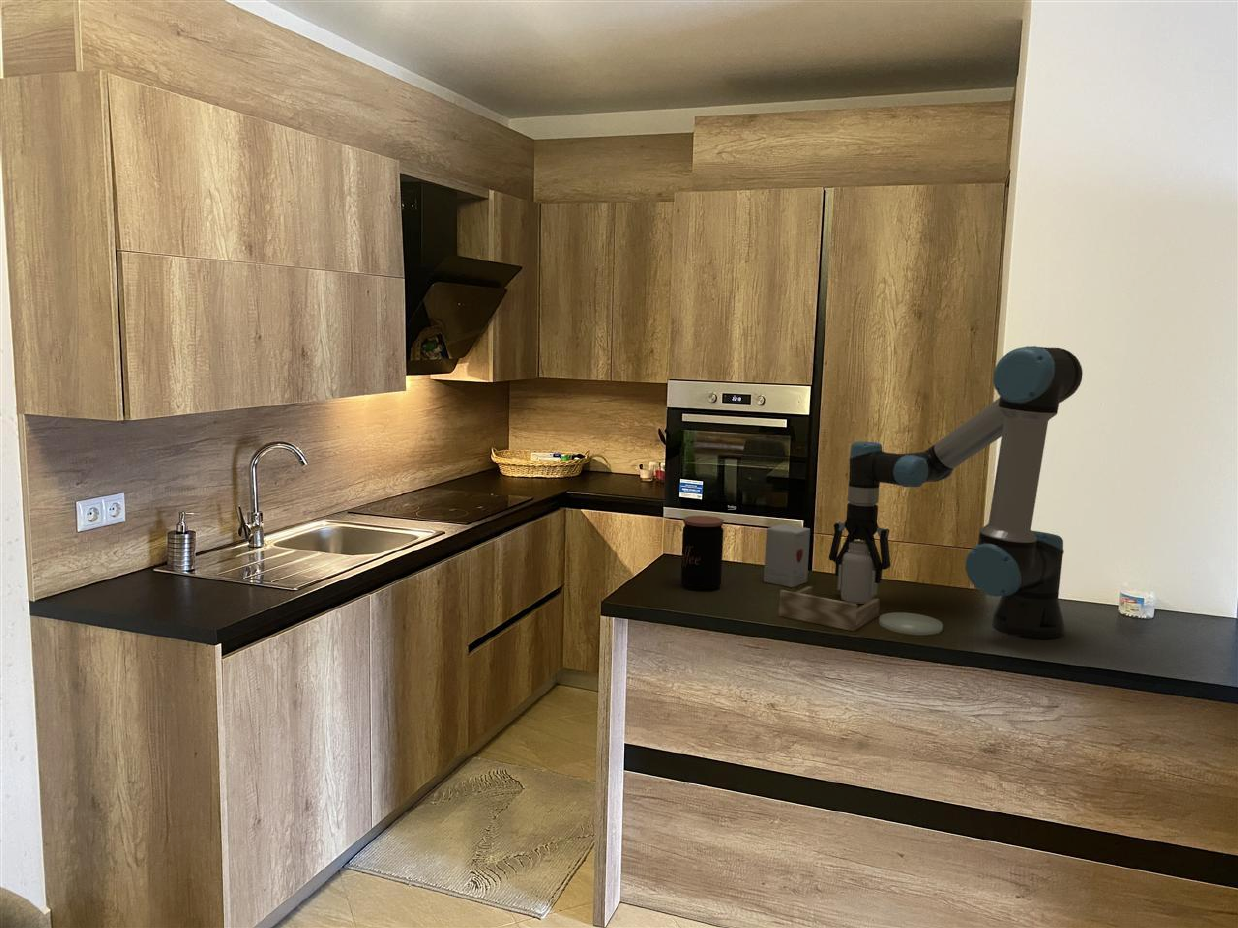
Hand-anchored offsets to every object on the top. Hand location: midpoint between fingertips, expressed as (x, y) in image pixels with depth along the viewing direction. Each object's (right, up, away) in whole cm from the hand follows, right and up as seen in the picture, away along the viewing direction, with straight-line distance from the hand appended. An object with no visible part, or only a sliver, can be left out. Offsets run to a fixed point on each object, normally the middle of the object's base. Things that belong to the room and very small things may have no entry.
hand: (857, 591), depth 233 cm
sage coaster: (+7, -5, -20) cm, 22 cm away
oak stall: (-10, -4, -13) cm, 17 cm away
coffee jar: (-39, 0, +10) cm, 40 cm away
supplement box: (-15, 0, +17) cm, 23 cm away
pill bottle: (0, -2, 0) cm, 2 cm away
